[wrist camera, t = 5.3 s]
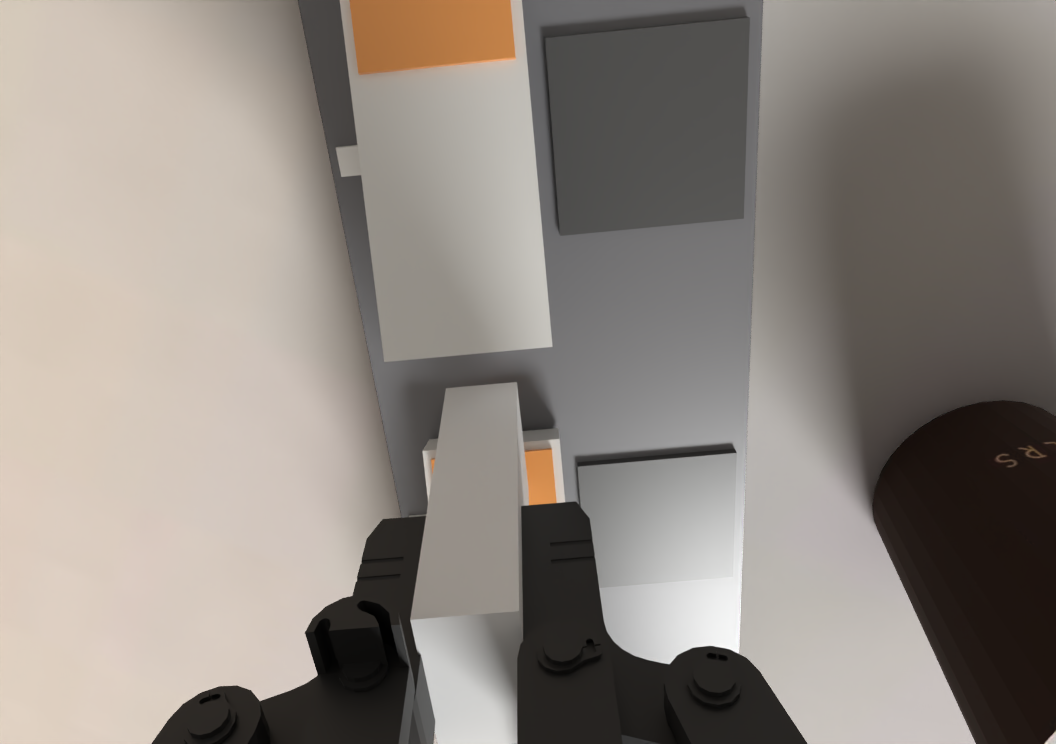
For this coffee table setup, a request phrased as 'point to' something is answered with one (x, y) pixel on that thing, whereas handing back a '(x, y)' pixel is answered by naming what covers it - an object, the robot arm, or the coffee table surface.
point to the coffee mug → (982, 559)
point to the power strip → (614, 295)
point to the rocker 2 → (539, 465)
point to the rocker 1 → (448, 175)
